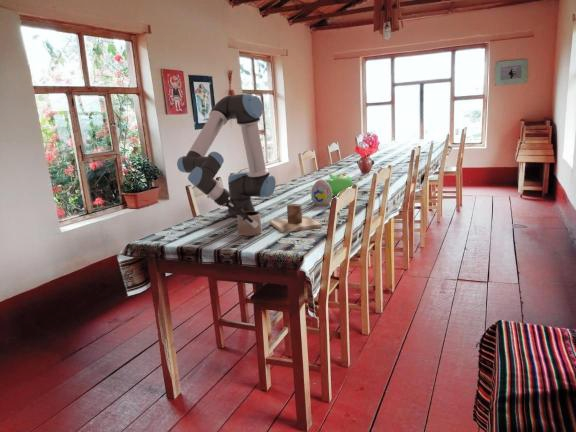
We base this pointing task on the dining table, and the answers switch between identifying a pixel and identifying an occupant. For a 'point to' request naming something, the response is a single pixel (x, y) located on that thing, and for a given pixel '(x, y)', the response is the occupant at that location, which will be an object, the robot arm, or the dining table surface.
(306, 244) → the dining table surface
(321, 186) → the decorative egg
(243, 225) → the planter
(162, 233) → the dining table surface
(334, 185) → the toy bird
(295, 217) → the square base plate
